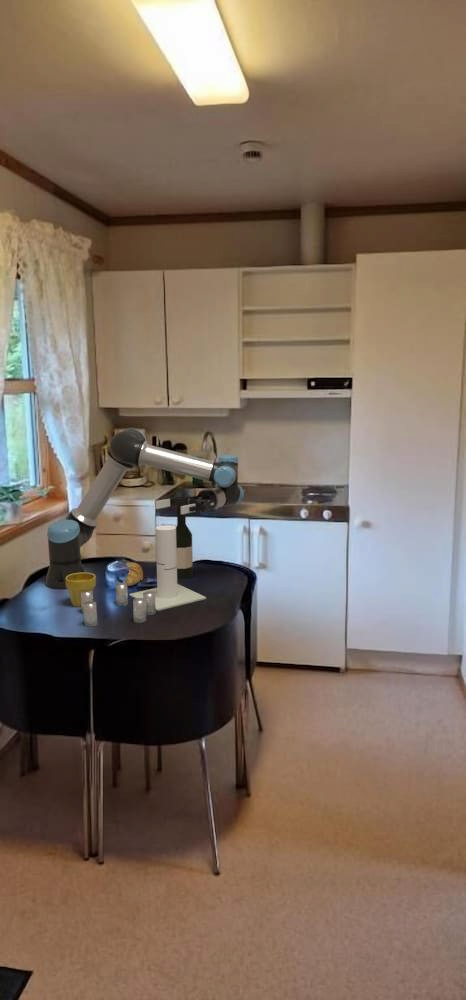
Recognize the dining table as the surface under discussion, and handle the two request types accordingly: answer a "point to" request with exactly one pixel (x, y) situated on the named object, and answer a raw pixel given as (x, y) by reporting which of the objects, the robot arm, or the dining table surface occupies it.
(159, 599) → the sage board
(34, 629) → the dining table surface
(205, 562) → the dining table surface
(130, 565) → the croissant
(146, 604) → the lit candle cluster
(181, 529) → the wine bottle
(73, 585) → the plant pot
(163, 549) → the cylindrical container
